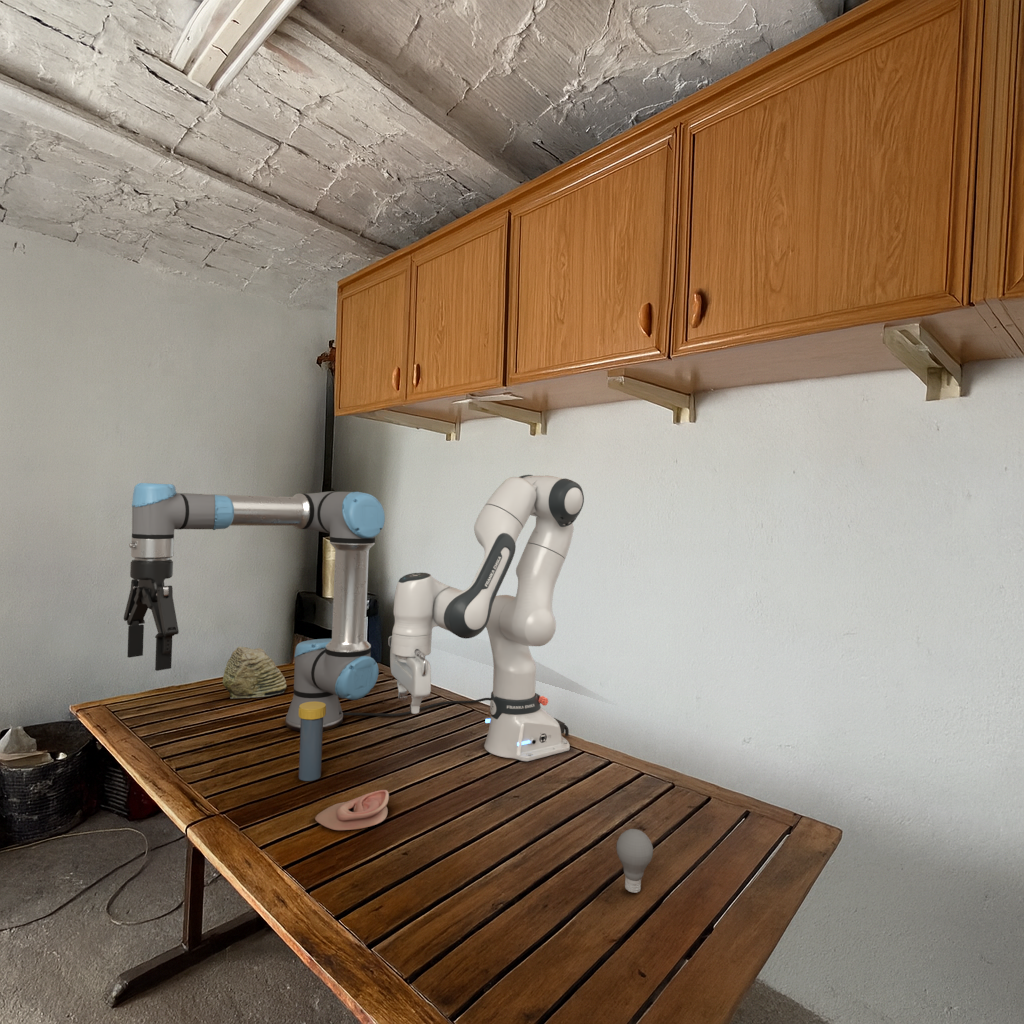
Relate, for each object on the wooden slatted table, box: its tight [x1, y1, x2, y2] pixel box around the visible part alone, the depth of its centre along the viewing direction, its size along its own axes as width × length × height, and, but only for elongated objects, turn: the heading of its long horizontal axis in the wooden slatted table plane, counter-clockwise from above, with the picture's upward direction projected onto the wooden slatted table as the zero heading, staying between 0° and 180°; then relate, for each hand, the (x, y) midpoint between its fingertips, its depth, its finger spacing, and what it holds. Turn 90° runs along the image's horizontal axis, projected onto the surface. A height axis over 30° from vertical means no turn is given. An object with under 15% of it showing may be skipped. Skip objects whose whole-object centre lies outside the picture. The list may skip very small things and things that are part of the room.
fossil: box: [222, 646, 288, 699], centre depth 198 cm, size 9×18×15 cm, turn 132°
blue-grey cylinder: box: [298, 717, 324, 782], centre depth 143 cm, size 5×5×16 cm
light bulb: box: [615, 828, 654, 894], centre depth 106 cm, size 6×6×10 cm
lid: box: [299, 701, 326, 720], centre depth 143 cm, size 6×6×2 cm
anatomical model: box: [314, 789, 390, 831], centre depth 126 cm, size 13×4×12 cm
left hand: (148, 662), depth 129 cm, fingers open, 13 cm apart
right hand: (408, 705), depth 143 cm, fingers open, 8 cm apart
